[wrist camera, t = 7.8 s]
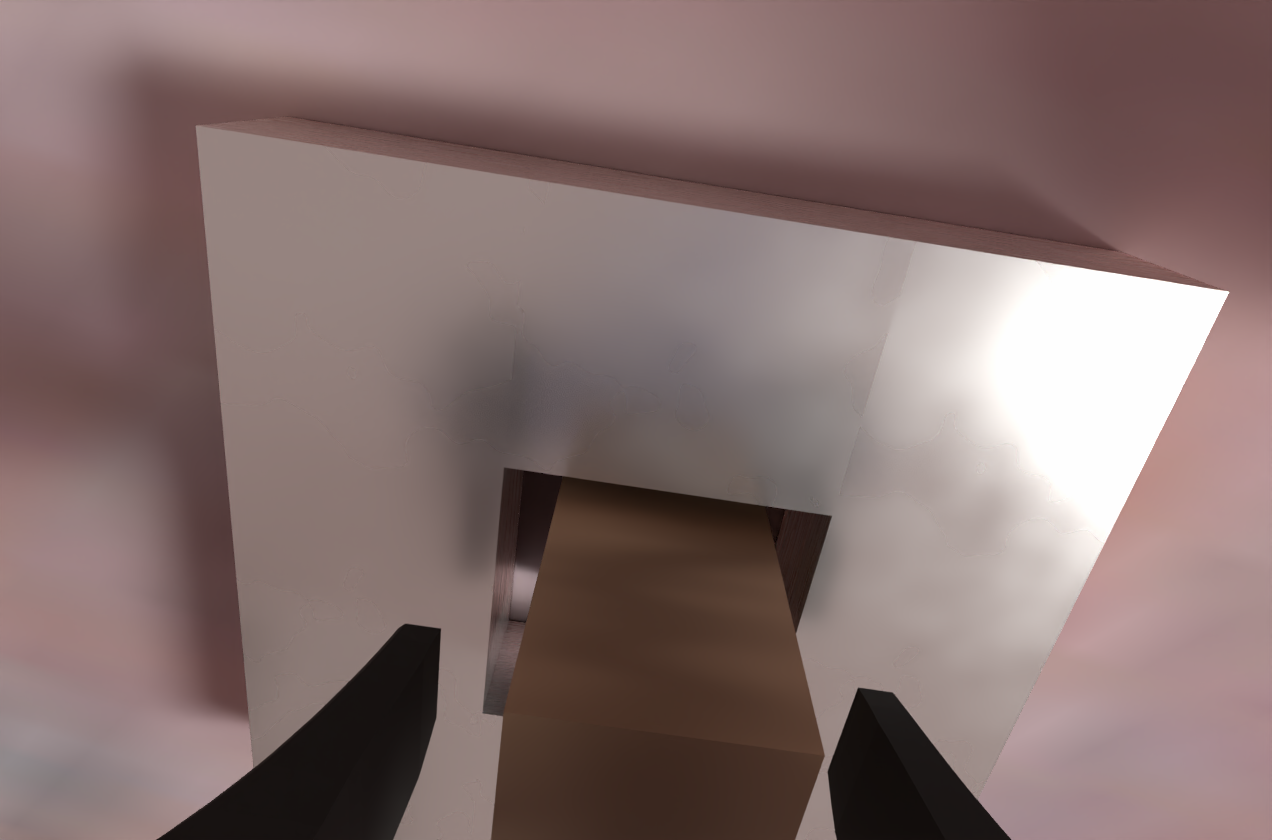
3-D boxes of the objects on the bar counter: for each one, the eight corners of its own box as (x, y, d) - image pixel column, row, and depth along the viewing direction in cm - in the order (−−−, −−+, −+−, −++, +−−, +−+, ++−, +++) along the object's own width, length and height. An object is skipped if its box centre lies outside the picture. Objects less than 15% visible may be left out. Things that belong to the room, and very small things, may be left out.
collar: (1120, 251, 14) (1229, 291, 12) (883, 815, 21) (915, 924, 18) (287, 116, 14) (195, 125, 11) (313, 737, 20) (260, 839, 18)
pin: (753, 457, 16) (825, 755, 9) (718, 601, 18) (755, 949, 11) (574, 430, 16) (503, 711, 9) (555, 578, 18) (483, 915, 11)
